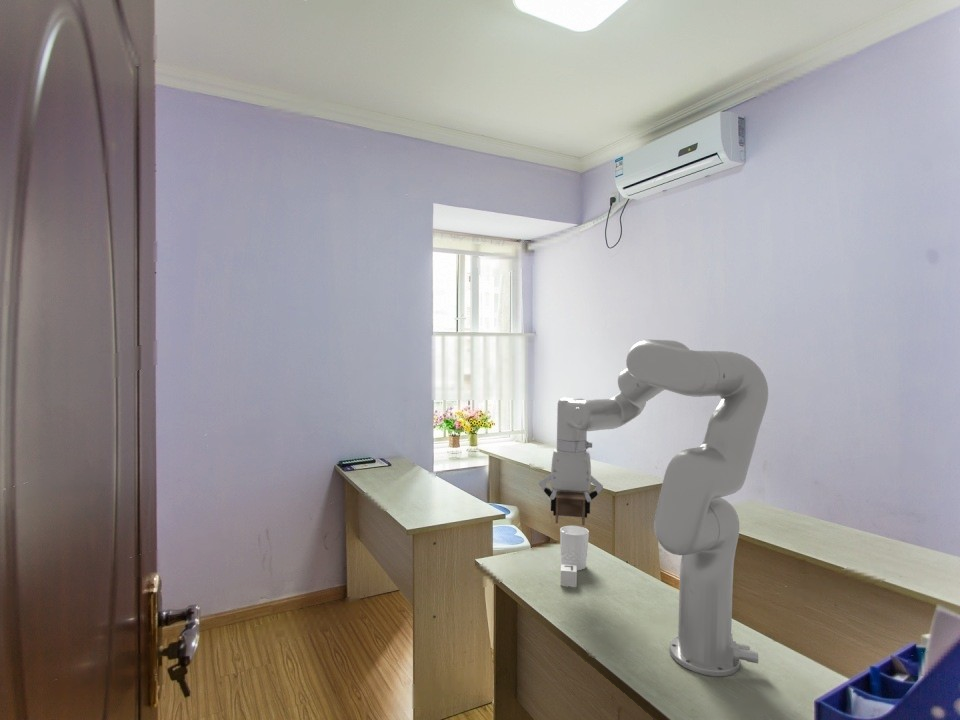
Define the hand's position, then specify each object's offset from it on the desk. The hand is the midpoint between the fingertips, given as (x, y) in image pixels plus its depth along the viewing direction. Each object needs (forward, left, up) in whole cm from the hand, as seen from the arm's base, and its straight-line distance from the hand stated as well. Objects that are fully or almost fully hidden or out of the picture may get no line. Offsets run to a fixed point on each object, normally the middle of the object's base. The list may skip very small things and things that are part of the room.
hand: (570, 514), depth 136 cm
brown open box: (0, 0, -1) cm, 1 cm away
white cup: (+1, -12, -18) cm, 21 cm away
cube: (0, 0, -18) cm, 18 cm away
